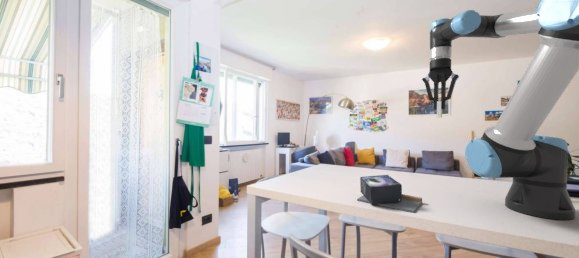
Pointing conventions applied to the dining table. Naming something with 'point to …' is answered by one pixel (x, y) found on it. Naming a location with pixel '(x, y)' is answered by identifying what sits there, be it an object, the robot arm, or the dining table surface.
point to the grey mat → (400, 203)
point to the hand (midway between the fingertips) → (439, 117)
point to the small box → (381, 189)
